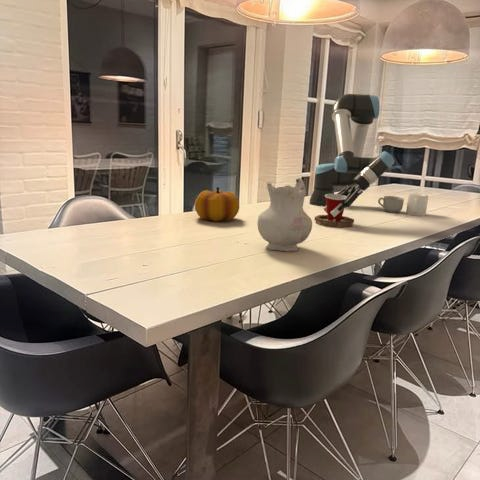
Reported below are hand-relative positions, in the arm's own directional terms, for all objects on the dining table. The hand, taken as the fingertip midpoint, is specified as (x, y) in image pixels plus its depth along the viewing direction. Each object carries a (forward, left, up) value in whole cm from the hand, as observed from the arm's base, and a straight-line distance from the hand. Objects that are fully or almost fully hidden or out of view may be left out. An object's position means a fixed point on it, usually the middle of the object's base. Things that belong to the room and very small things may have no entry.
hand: (328, 212), depth 221 cm
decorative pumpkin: (-15, -49, -5) cm, 52 cm away
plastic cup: (+1, +3, -4) cm, 5 cm away
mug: (-18, +64, -5) cm, 67 cm away
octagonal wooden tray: (+1, +3, -5) cm, 6 cm away
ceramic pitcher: (+38, -39, -5) cm, 54 cm away
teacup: (-27, +54, -5) cm, 61 cm away
